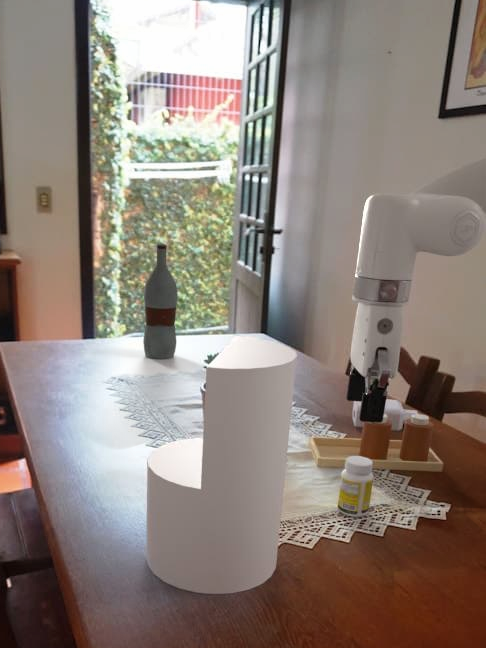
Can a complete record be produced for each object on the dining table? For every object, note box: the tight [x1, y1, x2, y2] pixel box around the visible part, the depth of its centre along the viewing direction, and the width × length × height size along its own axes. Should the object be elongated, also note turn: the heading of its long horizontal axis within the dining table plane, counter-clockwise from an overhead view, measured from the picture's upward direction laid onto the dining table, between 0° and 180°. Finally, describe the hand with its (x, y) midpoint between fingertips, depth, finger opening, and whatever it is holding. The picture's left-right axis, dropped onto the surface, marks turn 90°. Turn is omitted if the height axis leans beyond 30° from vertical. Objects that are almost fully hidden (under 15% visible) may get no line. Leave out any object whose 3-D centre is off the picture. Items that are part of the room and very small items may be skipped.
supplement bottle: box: [337, 456, 374, 518], centre depth 104 cm, size 5×5×8 cm
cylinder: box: [145, 334, 298, 595], centre depth 85 cm, size 17×17×28 cm
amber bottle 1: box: [359, 414, 392, 460], centre depth 124 cm, size 5×5×8 cm
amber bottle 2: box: [399, 413, 435, 462], centre depth 124 cm, size 5×5×8 cm
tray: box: [308, 436, 444, 472], centre depth 126 cm, size 22×11×2 cm, turn 90°
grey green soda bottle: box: [143, 243, 179, 360], centre depth 187 cm, size 9×9×30 cm
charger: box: [351, 398, 428, 432], centre depth 144 cm, size 5×9×15 cm
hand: (363, 410), depth 100 cm, fingers open, 9 cm apart
